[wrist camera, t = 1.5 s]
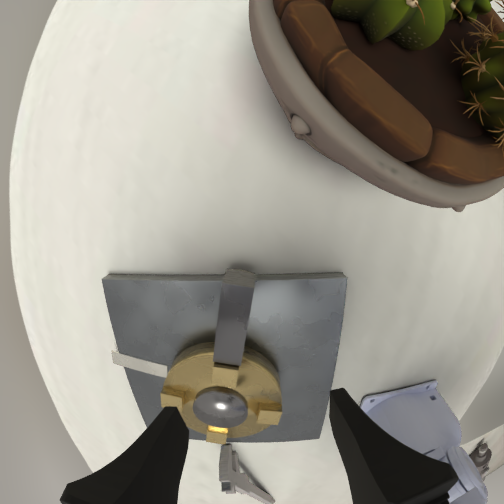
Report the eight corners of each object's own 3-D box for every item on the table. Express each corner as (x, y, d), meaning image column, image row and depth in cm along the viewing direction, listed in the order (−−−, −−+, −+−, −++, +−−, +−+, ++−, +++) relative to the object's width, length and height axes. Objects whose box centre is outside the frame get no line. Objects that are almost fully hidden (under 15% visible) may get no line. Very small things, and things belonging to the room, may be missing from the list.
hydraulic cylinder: (446, 498, 34) (455, 517, 24) (461, 440, 32) (480, 465, 22) (465, 486, 33) (476, 504, 24) (485, 422, 31) (505, 445, 21)
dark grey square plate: (343, 261, 19) (349, 266, 18) (317, 430, 23) (319, 439, 22) (97, 264, 19) (89, 269, 18) (144, 424, 24) (141, 432, 23)
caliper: (221, 441, 25) (215, 486, 18) (230, 440, 24) (225, 486, 18) (269, 500, 29) (269, 530, 23) (275, 499, 29) (276, 529, 23)
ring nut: (268, 424, 21) (269, 449, 18) (170, 409, 21) (162, 433, 18) (309, 280, 17) (318, 299, 15) (173, 259, 17) (157, 274, 14)
